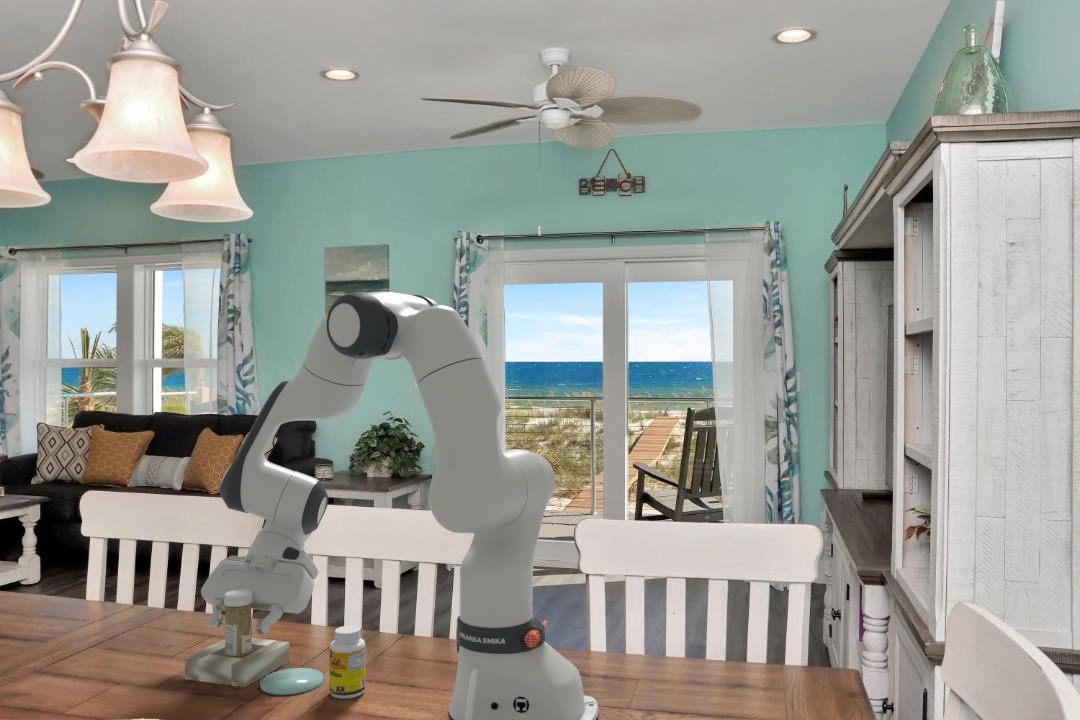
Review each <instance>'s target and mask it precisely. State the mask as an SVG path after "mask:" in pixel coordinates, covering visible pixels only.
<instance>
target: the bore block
mask: <svg viewBox="0 0 1080 720" xmlns="http://www.w3.org/2000/svg"><path fill="white" fill-rule="evenodd" d="M288 662H289V663H290V642H289V641H282V640H276V639H267V638H258V637H252V654H250V655H248V656H246V657H244V658H235V657H227V656H226V653H225V638H224V639H221V640H219V641H218V642H215V643H214V644H211V645H210V646H207V647H205V648H203V649H201V650H198V651H196V652H195V653H193V654H191V655H189V656H186V657H184V680H188V681H195V682H203V683H210V684H217V685H223V684H224V685H225V686H230V685H232V686H231V687H238V686H240V687H239V688H245V687H246V688H248V687H250V686H251V685H253V684H255V683H256V682H258V681H259V679H260V680H262V678H264V676H267V675H268V674H269V673H270V674H271V672H272V673H273V672H275V671H276V669H277V670H278V669H280V668H281V666H282V667H283V666H285V665H287V664H289V663H288ZM279 667H280V668H279ZM274 670H275V671H274ZM257 680H258V681H257ZM255 681H256V682H255ZM252 683H253V684H252ZM250 684H251V685H250ZM247 686H248V687H247Z"/></svg>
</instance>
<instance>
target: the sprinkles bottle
mask: <svg viewBox="0 0 1080 720" xmlns="http://www.w3.org/2000/svg"><path fill="white" fill-rule="evenodd" d="M252 601H253V596H252V591H250V590H245V589H240V590H233V591H229V592H227V593H225V595H224V605H225V611H224V613H225V615H224V617H225V618H224V620H225V621H224V639H225V653H226V656H227V657H235V658H244V657H246V656H248V655H250V654H252V638H253V623H252V609H251V605H252Z"/></svg>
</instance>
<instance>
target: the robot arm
mask: <svg viewBox="0 0 1080 720" xmlns="http://www.w3.org/2000/svg"><path fill="white" fill-rule="evenodd" d="M375 359H378V360H379V359H380V360H381V359H382V360H389V361H391V360H402V359H405V360H406V361H407V362H408V364H409V365H410V367H411V370H412V373H413V375H414V376H413V377H414V379H415V382H416V384H417V388H418V391H419V392H420V395H421V399H422V401H423V403H424V406H425V409H426V412H427V415H428V418H429V421H430V424H431V427H432V432H433V435H434V441H435V442H434V443H435V450H436V451H435V452H436V453H435V455H436V469H435V473H434V475H433V479H432V481H431V483H430V485H429V486H430V487H429V492H428V503H429V508H430V511H431V514H432V516H433V518H434V520H435V521H436V522H437V523H438V524H439V525H440V526H441V527H442V528H444V529H445V530H447V531H449V532H453V533H457V534H458V533H459V534H473V537H472V541H471V543H470V545H469V548H468V550H467V552H466V554H465V555H464V557H463V559H462V560H461V563H460V567H459V615H458V617H457V619H456V630H455V631H456V633H455V641H456V652H457V654H458V657H457V668H456V676H455V683H454V688H453V693H452V699H451V702H450V703H449V704H450V705H449V708H448V714H449V715H450V717H451V719H453V720H596V718H597V719H598V717H599V712H598V711H599V703H598V702H597V700H596V699H595V698H594V696H590V695H585V693H584V689H583V688H584V687H583V681H582V677H581V674H580V672H579V670H578V668H577V667H576V666H575V664H573V663H572V662H570V661H569V660H568V659H566V658H565V657H564V656H563V655H562V654H561V653H560V652H558V651H557V650H555V649H554V648H553V646H551V645H550V644H549V643H548V642H546V629H547V628H548V625H547V624H548V620H547V619H545V620H543V622H541V621H540V620H539V619H538V618H537V617H536V616H535V614H533V589H534V587H533V585H534V584H533V581H534V580H533V579H534V577H533V576H534V562H535V557H536V549H537V544H538V540H539V535H540V531H541V527H542V522H543V518H544V515H545V511H546V508H547V506H548V504H549V502H550V500H552V497H553V495H554V493H555V488H556V476H555V472H554V470H553V468H552V465H551V463H550V462H549V461H548V460H547V459H546V458H545V457H544V456H542V455H540V454H539V453H537V452H534V451H530V450H525V449H518V448H516V449H515V448H514V449H513V448H512V449H507V450H502V449H501V446H500V441H499V434H498V433H499V432H498V418H499V416H500V413H501V410H502V405H501V401H500V398H499V396H498V392H497V390H496V387H495V385H494V383H493V381H492V377H491V375H490V373H489V370H488V367H487V365H486V363H485V360H484V358H483V355H482V353H481V350H480V348H479V346H478V344H477V342H476V341H475V339H474V336H473V334H472V332H471V331H470V329H469V328H468V326H467V324H466V323H465V321H464V319H463V317H462V316H461V315H460V314H459V312H458V311H457V310H456V309H455V308H452V307H450V306H447V305H442V304H441V305H440V304H439V303H438V302H437V301H435V300H434V299H432V298H430V297H426V296H423V295H420V294H413V295H411V294H405V293H397V292H394V291H371V292H367V291H356V292H351V293H347V294H344V295H342V296H339V297H338V298H337V299H335V300H334V302H333V303H332V304H331V306H330V308H329V310H328V313H327V314H326V315H325V316H324V317H323V318H322V320H321V322H320V324H319V325H318V327H317V328H316V331H315V333H314V335H313V337H312V340H311V341H310V343H309V345H308V348H307V351H306V353H305V357H304V359H303V362H302V365H301V368H300V369H299V370H298V373H297V374H296V375H295V376H294V377H293V378H292V379H291V380H285V381H284V380H283V381H281V382H280V383H279V384H278V385H277V386H276V387H275V388H274V389H273V390H272V392H271V393H270V394H269V396H268V398H267V400H265V402H264V404H263V406H262V408H261V410H260V412H259V414H258V415H257V417H256V419H255V421H254V422H253V425H252V426H251V428H250V430H249V432H248V434H247V435H246V438H245V439H244V441H243V443H242V445H241V447H240V448H239V451H238V452H237V454H236V456H235V458H234V459H233V461H232V462H231V463H230V465H228V467H227V469H226V471H225V472H224V474H223V476H222V479H221V481H220V485H219V489H218V490H219V494H220V497H221V498H222V500H223V502H224V503H225V505H226V507H227V508H228V510H229V509H230V510H233V511H237V512H240V513H245V514H250V515H253V516H257V517H259V518H262V519H265V523H264V525H263V527H262V529H260V530H259V531H258V532H257V534H256V536H255V538H254V539H253V542H252V543H251V545H250V548H249V550H248V551H247V554H245V556H237V555H229V556H228V557H226V558H224V559H221V561H219V563H218V564H217V566H216V567H215V568H214V570H212V572H211V573H210V575H209V576H208V577H207V579H206V580H205V582H204V583H203V586H202V587H201V589H200V594H201V597H202V599H204V600H205V602H207V603H208V604H209V605H211V606H212V616H211V618H210V620H209V621H208V624H209V626H210V627H211V628H212V629H222V627H223V624H225V618H223V617H222V615H223V614H222V612H225V605H224V595H225V593H227V592H229V591H233V590H240V589H245V590H250V591H252V596H253V601H252V605H251V610H260V611H268V612H269V611H270V612H269V614H267V615H266V616H265V617H264V619H259V620H258V621H257V624H256V626H255V631H256V632H257V633H258V634H263V635H267V634H268V632H269V631H270V629H271V627H272V625H274V624H275V623H277V621H278V620H280V619H281V618H282V616H283V614H284V613H288V614H300V613H302V612H303V611H305V609H306V608H307V607H308V605H309V603H310V599H311V596H312V595H313V592H314V587H315V581H314V580H315V579H317V577H318V575H319V573H320V572H319V569H318V567H317V565H316V564H315V563H314V561H313V560H312V559H311V557H310V556H309V555H308V554H307V553H306V552H305V551H304V550H303V549H304V545H305V542H306V541H307V539H309V537H311V535H312V533H313V532H315V531H316V530H317V529H318V528H319V525H320V523H321V521H322V519H323V517H324V515H325V513H326V510H327V507H328V504H329V496H328V493H327V491H326V488H325V486H324V484H323V483H322V481H321V480H319V479H317V478H316V477H313V476H310V475H308V474H306V473H302V472H299V471H297V470H293V469H290V468H287V467H283V466H281V465H278V464H276V463H273V462H270V461H269V460H267V459H268V458H266V455H265V454H266V452H267V451H268V449H269V447H270V445H271V443H272V441H273V439H274V437H275V436H276V434H277V432H278V430H279V429H280V426H281V425H283V424H286V423H289V422H296V421H297V422H298V421H315V422H319V421H321V422H323V421H330V420H334V419H337V418H340V417H343V416H344V415H346V414H348V413H349V412H350V411H352V410H353V409H354V408H355V407H356V405H357V403H358V402H359V400H360V397H361V395H362V393H363V390H364V388H365V385H366V382H367V379H368V376H369V373H370V370H371V367H372V363H373V362H374V360H375ZM597 716H598V717H597Z"/></svg>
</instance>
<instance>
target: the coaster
mask: <svg viewBox="0 0 1080 720" xmlns="http://www.w3.org/2000/svg"><path fill="white" fill-rule="evenodd" d="M323 682H324V674H323V673H322V672H321V671H320V670H317V669H314V668H311V667H310V668H309V667H308V668H307V667H293V668H285V669H280V670H277V671H276V670H275V671H273V672H272V673H270V674H268V675H266V676H265V677H263V678H261V679H260V681H259V689H260V688H261V689H260V690H261V691H262V692H263V693H266V694H269V695H275V696H288V695H289V696H290V695H291V696H292V695H297V694H302V693H306V692H309V691H312V690H314V689H316V688H318V687H320V686H321V685H322V684H323Z"/></svg>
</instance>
